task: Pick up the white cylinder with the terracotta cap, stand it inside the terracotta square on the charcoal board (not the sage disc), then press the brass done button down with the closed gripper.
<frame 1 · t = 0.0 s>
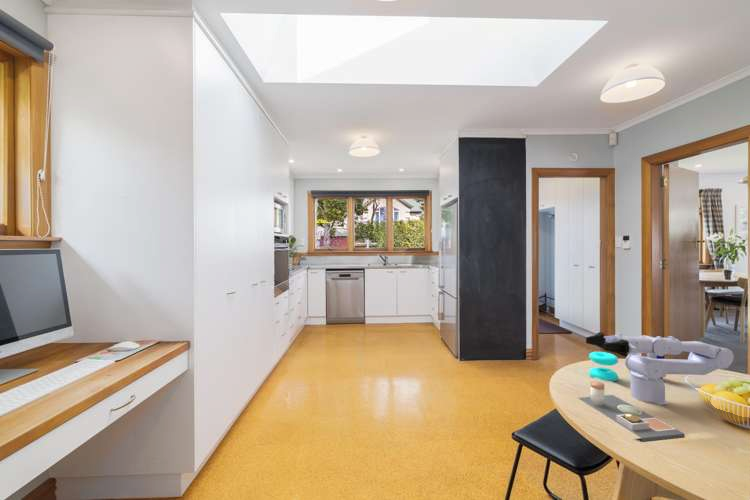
hand: (595, 343, 116), 22 cm above the table, tool horizontal, fingers open, 7 cm apart
white cylinder: (597, 403, 115), point 1 cm above the table, touching board
board: (625, 417, 108), on the table
beverage can: (654, 379, 138), on the table
donuts: (603, 378, 139), on the table
done button: (632, 418, 102), point 3 cm above the table, slide at 0.0 cm
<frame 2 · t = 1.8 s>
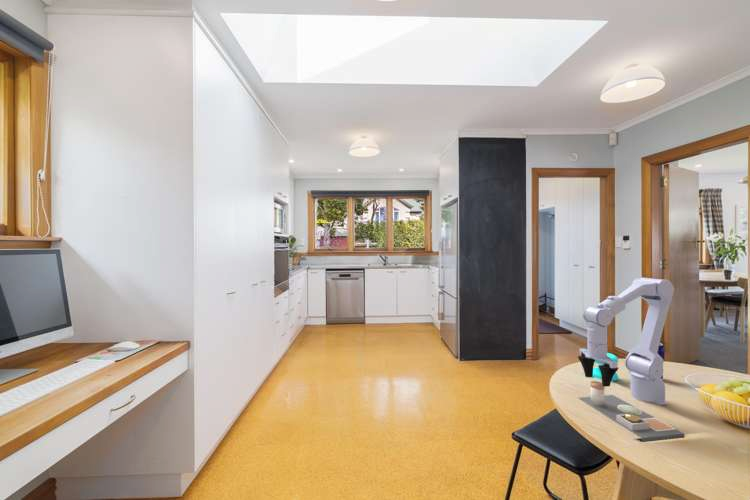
hand: (597, 381, 115), 9 cm above the table, tool pointing down, fingers open, 7 cm apart
nothing on the table moved.
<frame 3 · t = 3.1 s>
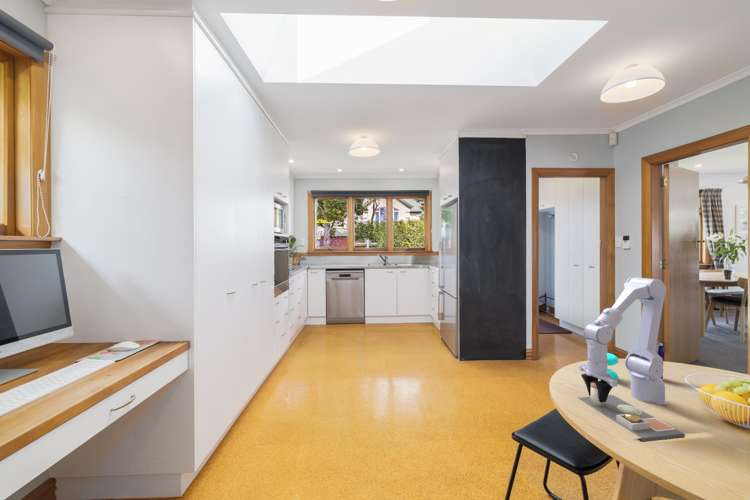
hand: (597, 398, 115), 3 cm above the table, tool pointing down, fingers closed on white cylinder, 4 cm apart
white cylinder: (597, 403, 115), point 1 cm above the table, touching board, gripper
everything else where it was.
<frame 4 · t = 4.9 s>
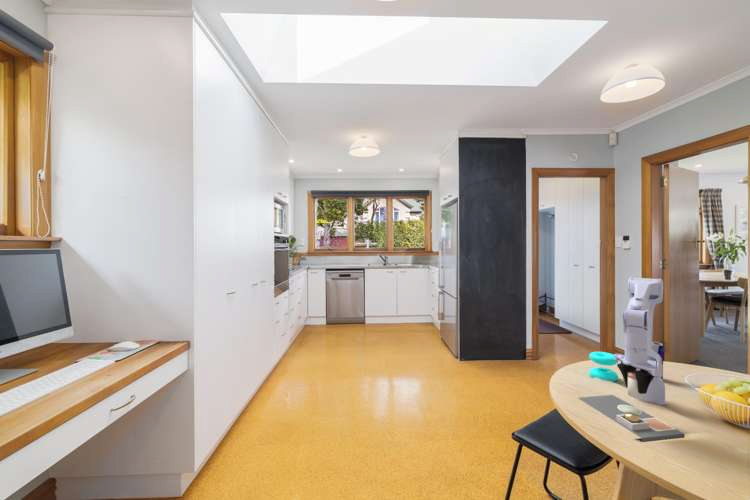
hand: (635, 390, 106), 10 cm above the table, tool pointing down, fingers closed on white cylinder, 4 cm apart
white cylinder: (635, 395, 106), point 8 cm above the table, touching gripper
everything else where it was.
when the fingers open (5 cm above the table, at t = 6.7 s): white cylinder drops 2 cm, resting on board.
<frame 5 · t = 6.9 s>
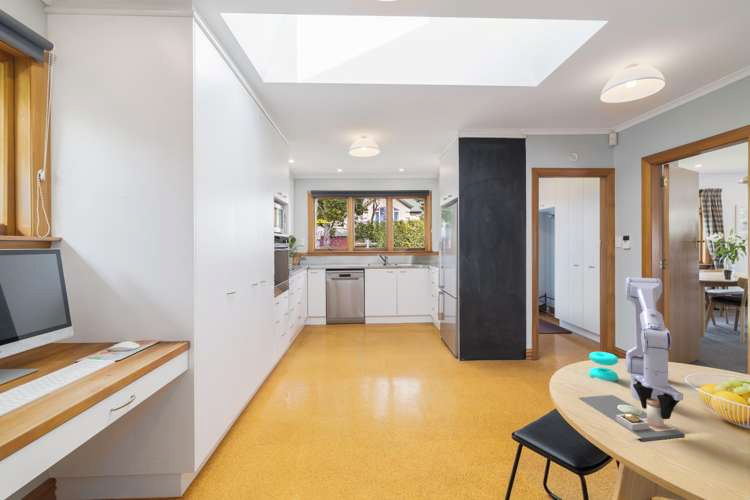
hand: (655, 413, 102), 5 cm above the table, tool pointing down, fingers open, 6 cm apart
white cylinder: (655, 424, 102), point 1 cm above the table, touching board
everything else where it was.
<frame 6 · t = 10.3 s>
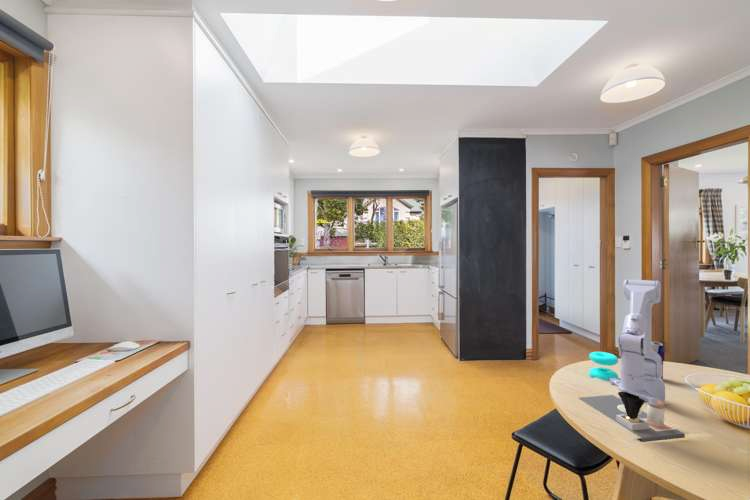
hand: (632, 417, 102), 3 cm above the table, tool pointing down, fingers closed, pressing on done button
done button: (632, 420, 102), point 3 cm above the table, slide at 0.7 cm, touching gripper
everything else where it was.
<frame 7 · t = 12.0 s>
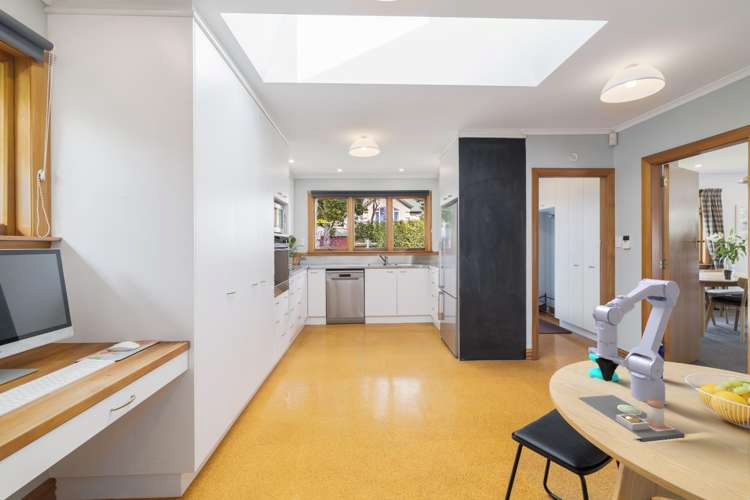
hand: (607, 380, 115), 9 cm above the table, tool pointing down, fingers closed
done button: (632, 420, 102), point 2 cm above the table, slide at 0.7 cm
everything else where it was.
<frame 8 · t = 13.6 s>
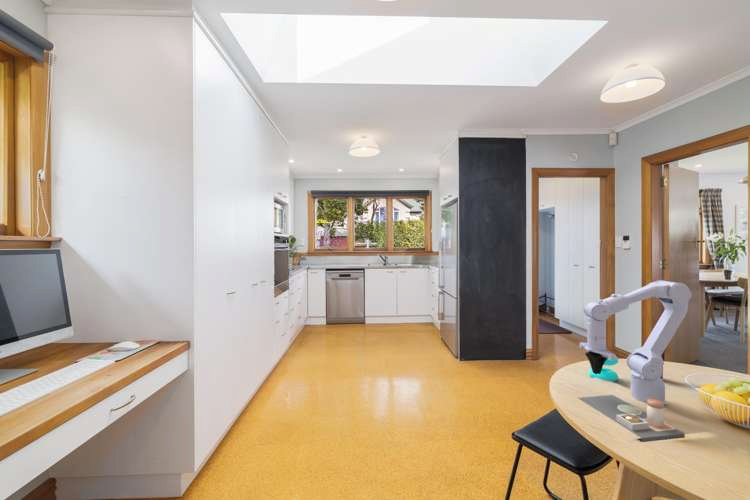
hand: (596, 373, 121), 9 cm above the table, tool pointing down, fingers closed
nothing on the table moved.
at the end: white cylinder 0.1 cm from the target spot, point 1.4 cm above the table; white cylinder tilted 2°; done button slide at 0.7 cm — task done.
